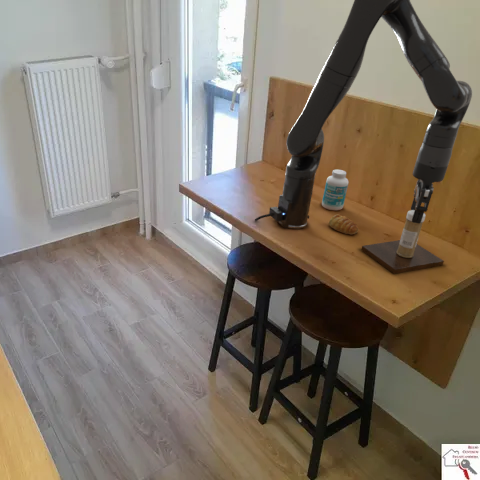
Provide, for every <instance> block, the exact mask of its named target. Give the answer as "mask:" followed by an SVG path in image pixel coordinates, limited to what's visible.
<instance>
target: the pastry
mask: <svg viewBox="0 0 480 480" xmlns="http://www.w3.org/2000/svg"><path fill="white" fill-rule="evenodd" d="M328 225H329V226H330V228H332V229H333V230H335V231H337V232H340V233H342V234H344V235H355V234H357V233H358V232H359V227H358V226H357V224H356V223H355V222H354V221H353V220H352V219H351V218H349V217H347V216H345V215H344V216H342V215H341V214H334V215H333V216H332V217H331V218H330V220H329V221H328Z"/></svg>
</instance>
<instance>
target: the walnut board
mask: <svg viewBox="0 0 480 480" xmlns="http://www.w3.org/2000/svg"><path fill="white" fill-rule="evenodd" d="M399 243H400V239H398V240H391V241H385V242H384V241H383V242H377V243H372V244H371V243H370V244H366V245H365V244H364V245H361V249H360V250H361V251H362V252H363V253H365V254H366V255H367V256H369V257H370V258H371V259H373V260H374V261H375V262H377V263H378V264H380V265H381V266H382V267H384V268H385V269H386V270H388V272H390V273H392V274H393V275H395V274H400V273H407V272H412V271H417V270H418V271H419V270H423V269H429V268H435V267H441V266H444V262H445V260H443V259H442V258H440V257H438V256H437V255H435V254H434V253H432V252H431V251H429V250H427V248H424V247H422V246H421V245H420V244H418V243H417V245H416V247H415V250H414V255H413V257H411V258H404V257H401V256H399V255H398V254H397V250H398V247H399Z"/></svg>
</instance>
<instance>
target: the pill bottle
mask: <svg viewBox="0 0 480 480" xmlns="http://www.w3.org/2000/svg"><path fill="white" fill-rule="evenodd" d="M349 184H350V183H349V179H348V178H347V171H345V170H342V169H333V170H332V172H331V175H329V176H328V177H327V178H326V181H325V185H324V190H323V196H322V199H321V206H322V207H323V208H324V209H326V210H329V211H340V210H342V209H343V208H344V206H345V200H346V197H347V191H348V187H349Z"/></svg>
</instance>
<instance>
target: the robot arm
mask: <svg viewBox="0 0 480 480" xmlns="http://www.w3.org/2000/svg"><path fill="white" fill-rule="evenodd" d="M381 19H383V20H384V21H385V23H387V25H388V26H389V27H390V29H391V30H392V32H393V33H394V35H395V37H396V38H397V41H398V43H399V45H400V48H401V51H402V53H403V56H404V57H405V59H406V61H407V63H408V64H409V66H410V67H411V69H412V70H413V72H414V73H415V74H416V76H417V78H418V79H419V80H420V81H421V83H422V86H423V88H424V90H425V93H426V95H427V97H428V99H429V101H430V103H431V104H432V106H433V107H434V108H435V109H436V110H435V113H434V116H433V118H432V119H431V120H430V121H429V123H428V125H427V127H426V129H425V130H426V131H425V133H424V137H423V141H422V143H421V146H420V148H419V150H418V152H417V157H416V161H415V163H414V166H413V171H412V176H413V178H415V179H417V181H416V183H415V187H414V190H413V199H412V203H411V206H410V210H415V211H414V214H413V218H412V222H413V223H421V220H422V217H423V214H425V213H427V211H428V208H429V204H430V202H431V198H432V196H433V193H434V189H435V188H434V183H440V182H442V181H444V179H445V176H446V173H447V171H448V167H449V164H450V161H451V158H452V155H453V149H454V146H455V142H456V140H457V136H458V132H459V128H460V126H461V124H462V122H463V120H464V118H465V116H466V113H467V111H468V108H469V107H470V104H471V101H472V98H473V90H472V87H471V86H470V84H469V83H467V82H466V81H464V80H457V79H456V78H455V76H454V74H453V73H452V71H451V64H450V61H449V60H448V58H447V56H446V55H445V54H444V52H443V50H442V49H441V48H440V46H439V45H438V44H437V42H436V41H435V39H434V38H433V37H432V35H431V33H429V31H428V30H427V28H426V27H425V25H424V23H423V22H422V20H421V19H420V17H419V15H418V13H417V12H416V10H415V8H414V6H413V4H412V1H411V0H354V1H353V3H352V6H351V9H350V11H349V14H348V16H347V19H346V20H345V21H346V22H345V24H344V26H343V28H342V30H341V32H340V34H339V35H338V37H337V39H336V41H335V43H334V45H333V47H332V49H331V51H330V53H329V55H328V58H327V59H326V60H325V63H324V64H323V67H322V69H321V71H320V73H319V75H318V77H317V79H316V82H315V84H314V87H313V88H312V90H311V92H310V94H309V97H308V99H307V101H306V104H305V106H304V108H303V110H302V112H301V114H300V115H299V117H298V118H297V120H296V122H295V123H294V125H292V128H291V130H290V131H289V132H288V135H287V137H286V142H285V143H286V148H287V149H286V150H287V151H288V153H289V154H290V155H291V157H290V159H289V161H288V163H287V164H286V168H285V172H284V181H283V186H282V194H279V197H278V204H277V206H271V207H270V206H269V212H268V213H266V214H263V215H260V216H257V217H256V218H254V221H255V222H257V221H260V220H261V219H265V218H268V217H270V218H271V219H273V220H274V221H275V222H277V223H278V224H279V225H280V226H282V227H283V228H284V229H291V230H300V229H304V228H306V227H307V226H308V220H310V215H309V213H310V209H311V208H310V207H311V202H312V197H313V191H314V184H315V179H316V174H317V171H318V168H319V166H320V163H321V159H322V154H323V151H324V150H323V149H324V144H325V134H324V130H323V127H324V125H325V124H326V121H327V120H328V119H329V117H330V115H331V114H333V112H334V110H335V109H336V108H337V107H338V106H339V104H340V103H341V102H342V101H343V100H344V98H345V96H346V95H347V94H348V92H349V91H350V89H351V87H352V86H353V84H354V82H355V80H356V78H357V76H358V74H359V72H360V70H361V67H362V64H363V61H364V57H365V52H366V49H367V44H368V42H369V39H370V37H371V34H372V33H373V32H374V29H375V28H376V26H377V24H378V23H379V21H380V20H381ZM422 204H423V206H422Z"/></svg>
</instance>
